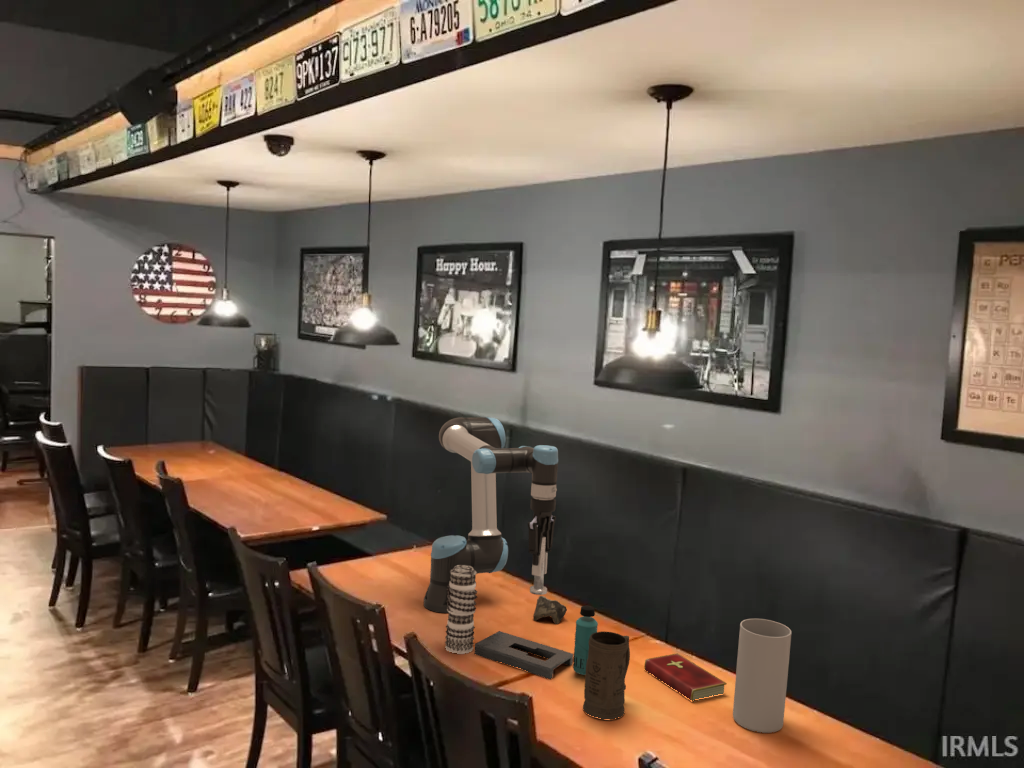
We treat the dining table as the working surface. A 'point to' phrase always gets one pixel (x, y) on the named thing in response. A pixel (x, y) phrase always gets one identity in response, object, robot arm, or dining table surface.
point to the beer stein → (606, 675)
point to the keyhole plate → (522, 653)
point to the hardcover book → (684, 676)
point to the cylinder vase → (761, 675)
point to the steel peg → (538, 581)
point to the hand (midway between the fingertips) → (539, 573)
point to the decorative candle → (461, 609)
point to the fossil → (549, 609)
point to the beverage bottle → (583, 638)
